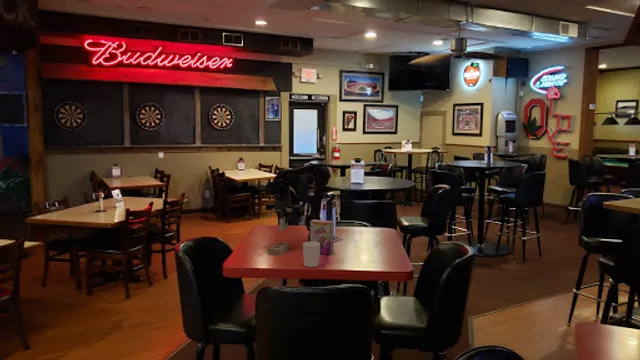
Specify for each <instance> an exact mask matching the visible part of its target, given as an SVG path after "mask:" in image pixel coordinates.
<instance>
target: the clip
mask: <svg viewBox="0 0 640 360" xmlns="http://www.w3.org/2000/svg"><path fill="white" fill-rule="evenodd" d="M285 217H286V216H283V218H281V219H279V218H278V219H279V231H280V232H282V231H284V229H285V230H286V229H288V228H289V224H288V223H289V222H287V224H285Z"/></svg>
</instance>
